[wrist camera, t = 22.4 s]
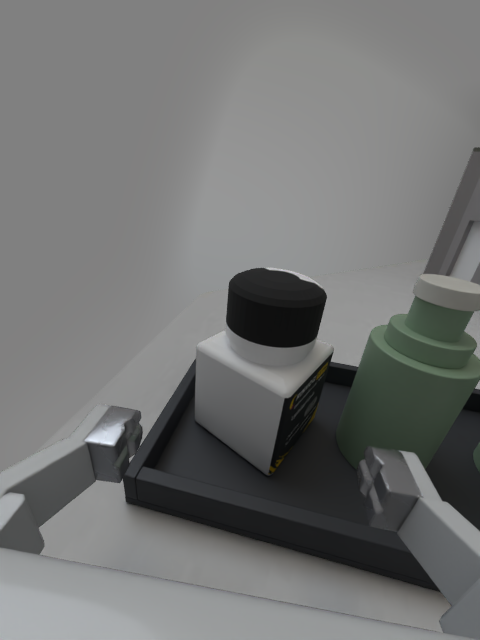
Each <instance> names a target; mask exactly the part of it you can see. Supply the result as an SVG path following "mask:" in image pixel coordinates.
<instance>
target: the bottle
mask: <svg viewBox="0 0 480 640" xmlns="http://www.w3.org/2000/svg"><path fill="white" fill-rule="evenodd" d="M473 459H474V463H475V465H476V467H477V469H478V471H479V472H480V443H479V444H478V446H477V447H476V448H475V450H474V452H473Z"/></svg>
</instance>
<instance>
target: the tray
mask: <svg viewBox="0 0 480 640" xmlns="http://www.w3.org/2000/svg"><path fill="white" fill-rule="evenodd" d="M357 370H358V367H356V366H350V365H345V364H340V363H334V362H330V365H329V368H328V372H327V375H326V379H325V382H324V386H323V389H322V393H321V396H320V399H319V403H318V406H317V410H316V413H315V417H314V418H313V420H312V421H311V422H310V424H309V425H308V426H307V428H306V429H305V431H304V432H303V433H302V435H301V436H300V437H299V439H298V440H297V441H296V443H295V444H294V445H293V447H292V448H291V449H290V451H289V452H288V454H287V455H286V456H285V458H284V459H283V460H282V462H281V463H280V464H279V466H278V467H277V468H276V470H275V471H274V472H273V474H272V475H270V476H268V475H265V474H264V473H263V472H261V471H260V470H259V469H257V468H256V467H255V466H254V465H252V464H251V463H250V462H248V461H247V460H246V459H244V458H243V457H242V456H240V455H239V454H238V453H237V452H235V451H234V450H233V449H231V448H230V447H229V446H227V445H226V444H225V443H223V442H222V441H221V440H220V439H218V438H217V437H216V436H214V435H213V434H212V433H210V432H209V431H208V430H206V429H205V428H204V427H202V426H201V425H200V424H199V423H197V422H196V421H195V382H196V359H195V360H194V362H193V364H192V365H191V367H190V368H189V370H188V372H187V373H186V375H185V376H184V378H183V379H182V381H181V383H180V384H179V386H178V387H177V389H176V391H175V392H174V394H173V395H172V397H171V398H170V400H169V402H168V403H167V405H166V406H165V408H164V410H163V411H162V413H161V414H160V416H159V417H158V419H157V421H156V422H155V424H154V425H153V427H152V429H151V430H150V432H149V433H148V435H147V437H146V438H145V440H144V441H143V443H142V444H141V446H140V448H139V449H138V451H137V452H136V454H135V456H134V457H133V459H132V460H131V462H130V463H129V464H130V465H129V467H128V469H127V471H126V473H125V475H124V477H123V482H124V489H125V496H126V497H125V498H126V502H128V503H132V504H135V505H139V506H142V507H146V508H149V509H153V510H157V511H160V512H164V513H167V514H171V515H174V516H178V517H181V518H185V519H188V520H192V521H195V522H199V523H202V524H206V525H209V526H213V527H216V528H220V529H223V530H227V531H230V532H234V533H237V534H241V535H244V536H248V537H251V538H255V539H258V540H262V541H265V542H269V543H272V544H276V545H279V546H283V547H286V548H290V549H293V550H297V551H300V552H304V553H307V554H311V555H314V556H318V557H321V558H325V559H328V560H332V561H335V562H339V563H342V564H346V565H349V566H353V567H356V568H360V569H363V570H367V571H370V572H374V573H377V574H381V575H384V576H388V577H392V578H395V579H399V580H402V581H406V582H409V583H413V584H416V585H420V586H423V587H427V588H430V589H434V590H437V591H440V590H439V589H438V587H437V586H436V585H435V583H434V582H433V581H432V579H431V578H430V577H429V575H428V574H427V573H426V571H425V570H424V569H423V567H422V566H421V565H420V563H419V562H418V561H417V559H416V558H415V557H414V555H413V554H412V553H411V551H410V550H409V549H408V548H407V546H406V545H405V544H404V542H403V541H402V540H401V538H400V537H399V536H398V534H397V532H395V531H390V530H385V529H380V528H375V527H370V525H369V522H368V518H367V515H366V512H365V508H364V502H365V500H366V498H365V497H364V495H363V494H362V493H361V492H360V491H359V487H358V483H357V470H356V469H355V468H354V467H353V466H352V465H351V464H350V463H349V462H348V461H347V460H346V458H345V457H344V456H343V454H342V453H341V451H340V449H339V447H338V444H337V440H336V430H337V427H338V424H339V421H340V418H341V416H342V413H343V410H344V407H345V404H346V401H347V398H348V396H349V393H350V390H351V387H352V384H353V381H354V378H355V376H356V373H357ZM479 443H480V390H479V389H474V390H473V392H472V393H471V395H470V397H469V398H468V400H467V402H466V403H465V405H464V407H463V408H462V410H461V412H460V413H459V415H458V417H457V418H456V420H455V422H454V423H453V425H452V426H451V428H450V430H449V431H448V433H447V435H446V436H445V438H444V440H443V441H442V443H441V445H440V446H439V448H438V450H437V451H436V453H435V454H434V456H433V458H432V459H431V461H430V463H429V464H428V466H427V468H426V469H425V471H426V472H427V474H428V476H429V478H430V480H431V482H432V483H433V485H434V487H435V489H436V491H437V492H438V494H439V496H440V498H441V500H442V501H443V502H448V503H449V504H450V505H451V506H452V507H453V508H454V509H455V510H457V511H458V512H459V513H460V514H461V515H462V516H463V517H464V518H466V519H467V520H468V521H469V522H470V523H471V524H472V525H473V526H475V527H476V528H477V529H478V530H479V531H480V472H479V471H478V469H477V467H476V465H475V463H474V459H473V452H474V450H475V448H476V447H477V446H478V444H479Z"/></svg>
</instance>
